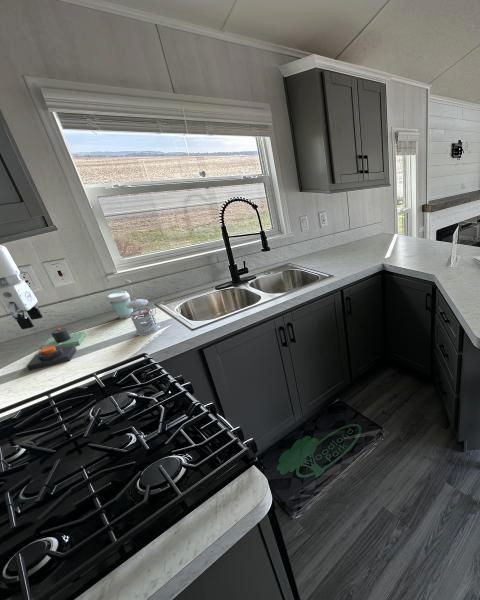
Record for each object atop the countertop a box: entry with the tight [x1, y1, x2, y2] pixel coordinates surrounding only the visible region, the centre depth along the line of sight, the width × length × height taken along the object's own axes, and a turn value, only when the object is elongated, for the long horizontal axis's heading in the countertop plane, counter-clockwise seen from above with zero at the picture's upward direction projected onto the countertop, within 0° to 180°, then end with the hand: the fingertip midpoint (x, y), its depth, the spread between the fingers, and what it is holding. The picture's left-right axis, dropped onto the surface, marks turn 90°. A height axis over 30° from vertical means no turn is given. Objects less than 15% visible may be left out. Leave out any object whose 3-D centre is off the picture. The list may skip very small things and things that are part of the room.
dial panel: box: [40, 330, 87, 351], centre depth 142 cm, size 12×10×2 cm
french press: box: [124, 279, 161, 337], centre depth 146 cm, size 10×12×25 cm
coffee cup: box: [107, 290, 134, 320], centre depth 162 cm, size 8×8×12 cm
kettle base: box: [26, 346, 78, 371], centre depth 130 cm, size 12×9×4 cm
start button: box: [40, 346, 57, 355], centre depth 129 cm, size 4×4×2 cm
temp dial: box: [50, 327, 71, 343], centre depth 140 cm, size 5×5×5 cm
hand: (32, 322), depth 124 cm, fingers open, 7 cm apart
